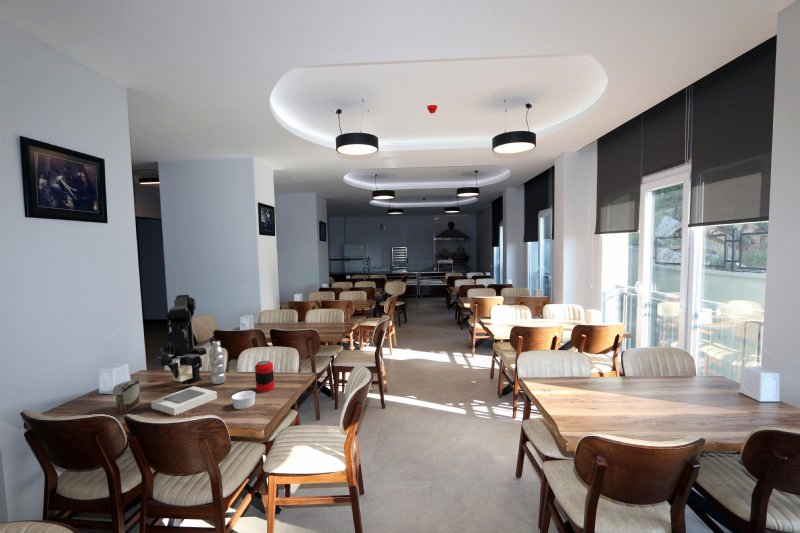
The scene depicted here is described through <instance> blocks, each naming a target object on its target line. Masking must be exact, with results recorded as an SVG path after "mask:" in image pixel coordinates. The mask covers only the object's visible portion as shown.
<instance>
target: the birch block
mask: <svg viewBox="0 0 800 533" xmlns="http://www.w3.org/2000/svg"><path fill="white" fill-rule="evenodd" d="M172 376H173V381H175V382H180V383H181V382H182V381H184V380H188V379H191V378H193V377H192V366H189V365H181V366H180V365H178V379H175V377H174V375H173V374H172Z"/></svg>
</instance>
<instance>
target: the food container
mask: <svg viewBox="0 0 800 533" xmlns="http://www.w3.org/2000/svg"><path fill="white" fill-rule="evenodd" d="M140 385H141V380H140V379H139V378H137V379H132V380H127V381H123V382H120V383H118V384H116V385H114V386H113V388H112V394H113V395H114V397H115V402H116V407H117V412H118V413H119V414H127V413H128V412H130V411H131V410H132V409H134V408H136V407H137V406H139V405H140V402H141V401H140V400H141V398H140Z"/></svg>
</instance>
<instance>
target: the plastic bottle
mask: <svg viewBox="0 0 800 533" xmlns="http://www.w3.org/2000/svg"><path fill="white" fill-rule="evenodd" d="M221 345H222V344H221V340H213V341H211V349H210V350H209V352H208V355H209V360H210V367H211V368H210V370H211V371H210V383H211V384H212V385H220V384H223V383H225V382H226V378H227V376H226V375H227V374H226V372H225V364H224V363H225V361H224V360H225V359H224V358H225V349H224V348H223V347H222V346H221Z"/></svg>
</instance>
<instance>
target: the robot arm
mask: <svg viewBox="0 0 800 533" xmlns="http://www.w3.org/2000/svg"><path fill="white" fill-rule="evenodd" d="M175 297H176V298H175V299H174V301H173V307H170V309H168V310H169V311H168V312H166V329H168V328H169V329H170V328H171V329H170V332H169V333H168V335H167V340H168V342H169V346H167V345H162V346H160V348H159V353H160V354H161V356H157V357H155V358H154V360H153V362H154V366H159V367H165V366H167V367H168V368H169V369H170V371H171V373H172V376H173V375H174V377H175V379H178V366H181V365H189V366H192V377H193V378H191V379H188V380H184V381H181V382H182V383H185V384H192V383H195V382H199V381H202V380H203V378H202V377H201V373H200V369H201V368H203V360H202V358H201V357H202V356H204V355H207V353H208V352H207V348H206V347H203V346H196V347H195V345H194V334H193V332H194V330H193V320H192V319H193V316H194V315H195V310H197V304H196V303H197V302H196V300H195V298H193V297H191V296H190V294H179V295H176V296H175ZM177 360H179V362H176V361H177Z"/></svg>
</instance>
